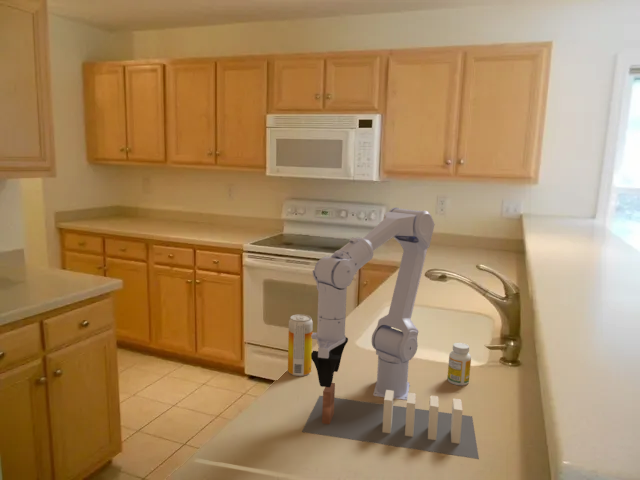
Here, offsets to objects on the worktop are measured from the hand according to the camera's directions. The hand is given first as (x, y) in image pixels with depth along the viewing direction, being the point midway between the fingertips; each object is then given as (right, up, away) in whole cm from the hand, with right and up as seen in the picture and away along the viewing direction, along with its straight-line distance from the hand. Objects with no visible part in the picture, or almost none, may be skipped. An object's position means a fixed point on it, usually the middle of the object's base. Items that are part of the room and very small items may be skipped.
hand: (329, 378), depth 102 cm
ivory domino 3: (+21, -10, -3) cm, 23 cm away
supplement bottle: (+33, -7, +22) cm, 41 cm away
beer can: (-7, -6, +24) cm, 26 cm away
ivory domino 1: (+12, -10, -1) cm, 15 cm away
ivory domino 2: (+16, -10, -2) cm, 19 cm away
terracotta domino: (0, -9, +1) cm, 9 cm away
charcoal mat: (+13, -10, 0) cm, 16 cm away
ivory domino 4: (+25, -11, -4) cm, 28 cm away
